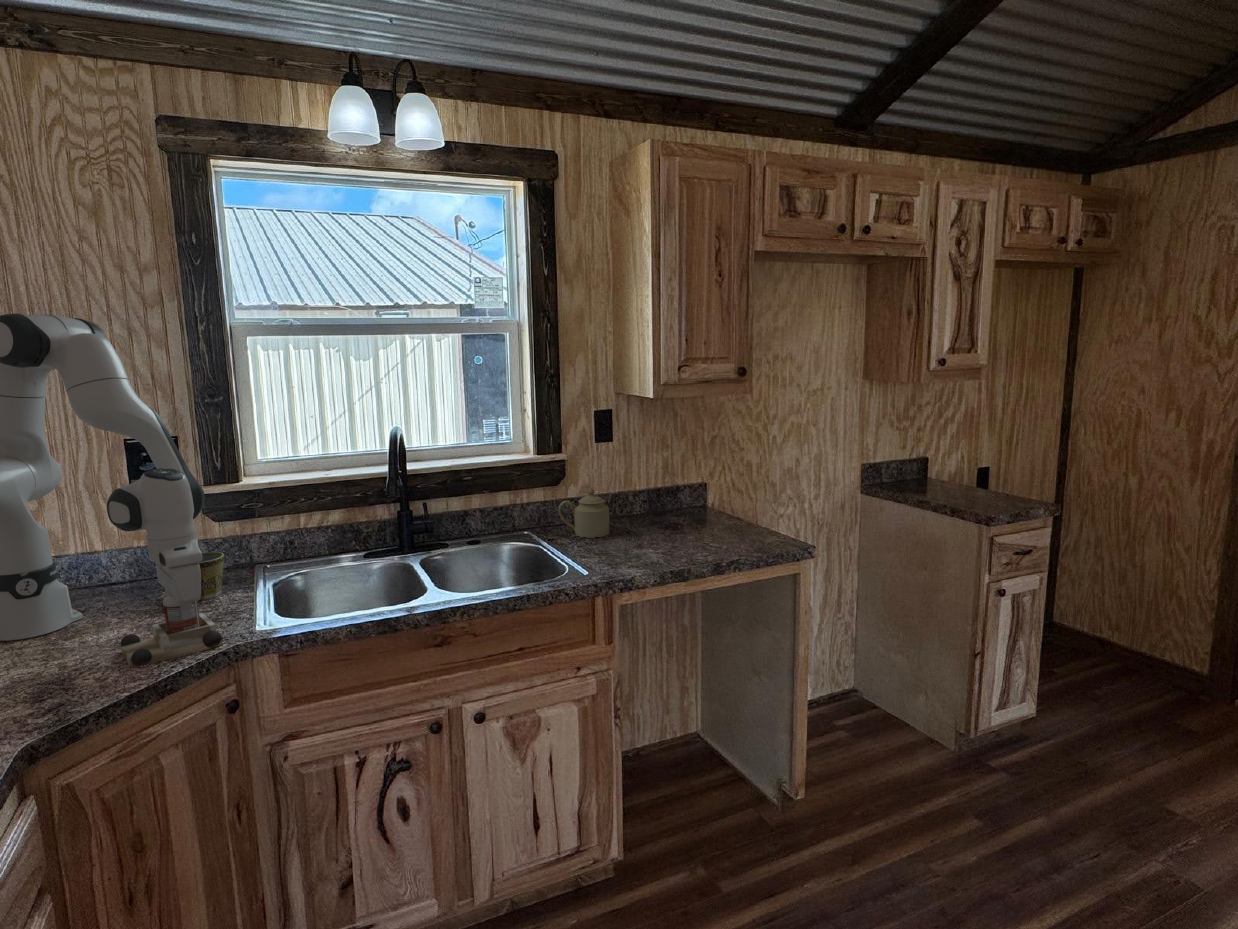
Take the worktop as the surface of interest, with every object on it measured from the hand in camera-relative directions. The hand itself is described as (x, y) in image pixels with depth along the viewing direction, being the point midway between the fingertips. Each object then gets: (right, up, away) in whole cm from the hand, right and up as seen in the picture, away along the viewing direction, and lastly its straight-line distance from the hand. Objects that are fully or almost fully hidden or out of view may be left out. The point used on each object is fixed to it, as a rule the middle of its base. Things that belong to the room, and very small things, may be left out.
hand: (181, 613), depth 155 cm
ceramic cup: (-14, -2, +33) cm, 36 cm away
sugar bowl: (+80, +8, +82) cm, 115 cm away
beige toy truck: (-2, -7, -1) cm, 7 cm away
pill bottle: (0, -5, +1) cm, 5 cm away
